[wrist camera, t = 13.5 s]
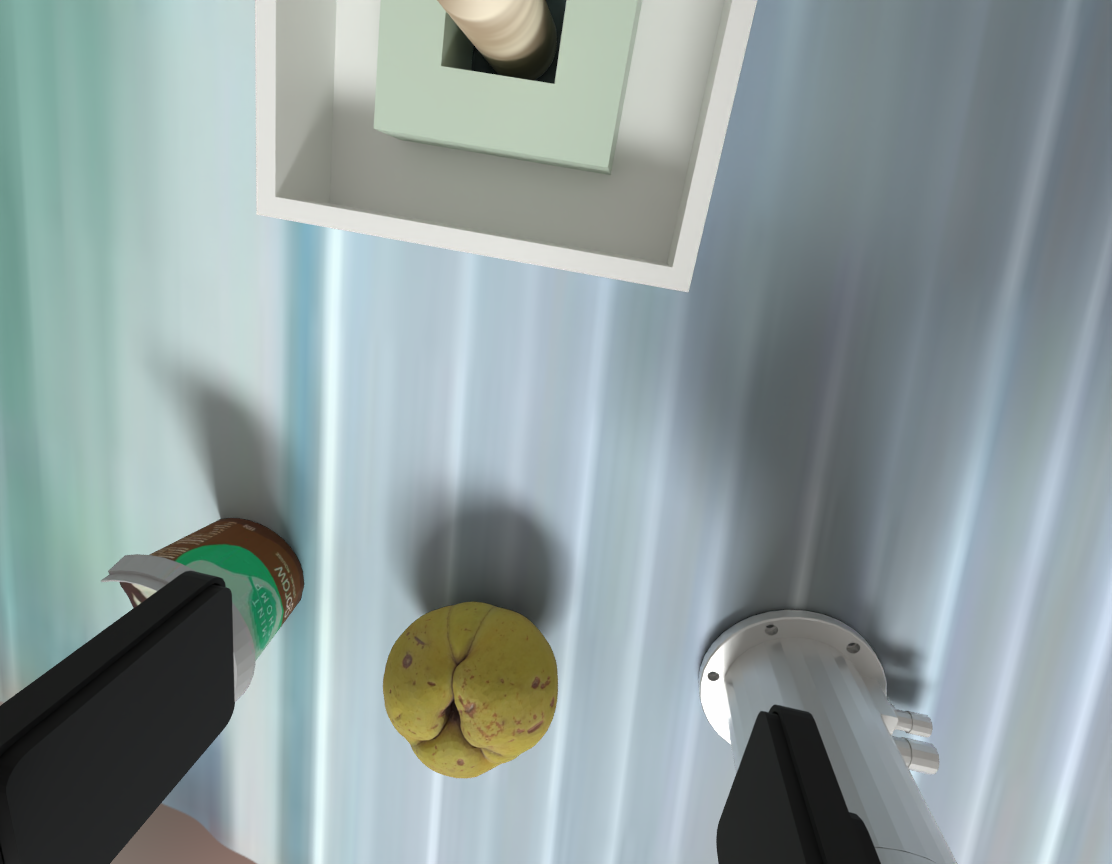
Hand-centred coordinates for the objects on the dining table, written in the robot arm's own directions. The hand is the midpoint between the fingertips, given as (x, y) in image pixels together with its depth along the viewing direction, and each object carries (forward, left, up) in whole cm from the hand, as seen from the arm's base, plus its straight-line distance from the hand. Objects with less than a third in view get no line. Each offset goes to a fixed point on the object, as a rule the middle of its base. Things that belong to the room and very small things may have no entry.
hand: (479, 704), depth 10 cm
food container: (+21, +20, -28) cm, 41 cm away
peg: (+7, -17, -28) cm, 34 cm away
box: (+7, -17, -28) cm, 34 cm away
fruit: (+4, +22, -28) cm, 36 cm away
